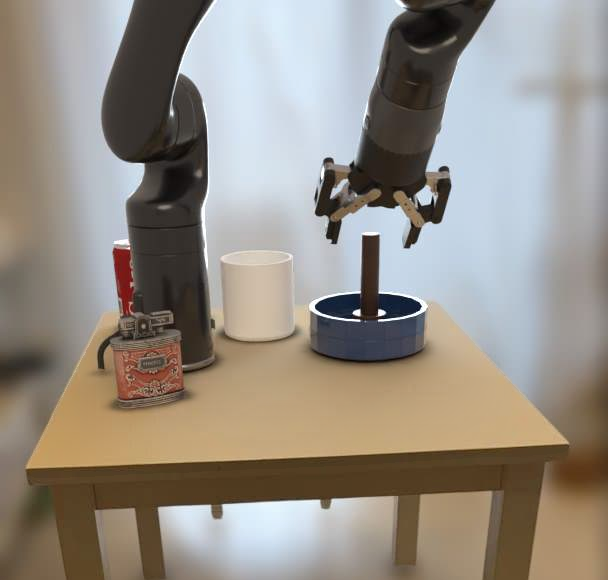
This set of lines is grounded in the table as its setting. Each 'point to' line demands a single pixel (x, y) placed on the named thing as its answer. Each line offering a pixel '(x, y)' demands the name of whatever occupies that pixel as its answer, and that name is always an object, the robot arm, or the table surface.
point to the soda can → (123, 276)
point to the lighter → (148, 361)
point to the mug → (258, 295)
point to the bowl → (367, 327)
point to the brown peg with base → (369, 279)
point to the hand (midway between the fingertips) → (369, 240)
